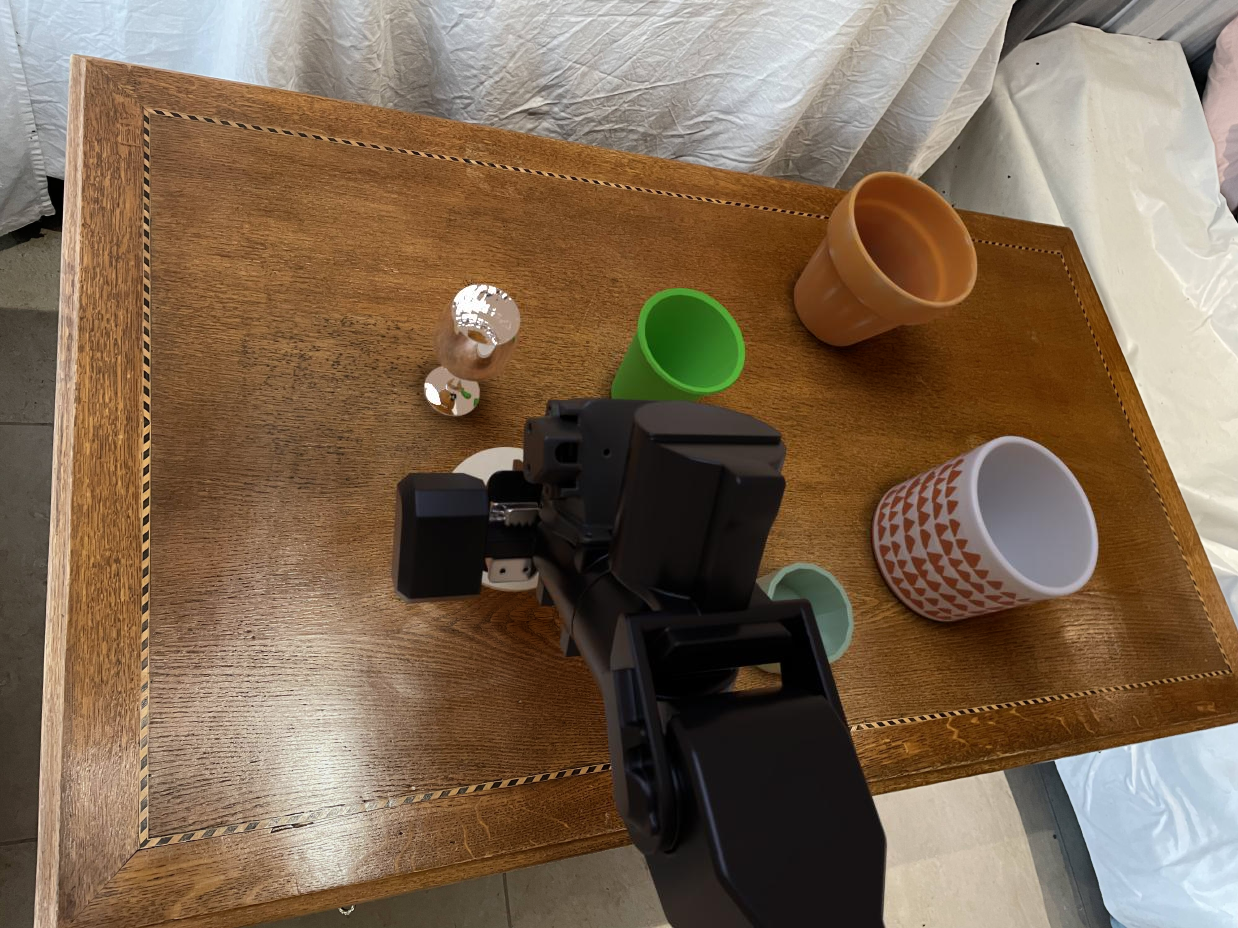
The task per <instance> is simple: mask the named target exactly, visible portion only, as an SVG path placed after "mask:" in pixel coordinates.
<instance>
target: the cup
mask: <svg viewBox="0 0 1238 928" xmlns="http://www.w3.org/2000/svg"><path fill="white" fill-rule="evenodd" d="M745 345H746V344H745V341H744V338H743V334H742V331H741V329H740V327H739V325H738V323H737V322H736V319H734V317H733V315H731V313H730V312H729V311H728V310H727V309H726V307H724V306H723V305H722V304H720V303H719V302H718V301H717V300H716V299H714V298H713V297H712V296H709V295H707V294H706V293H704V292H701V291H699V290H695V289H693V288H684V287H675V288H668V289H665V290H662V291H659V292H656V293H655V294H653V296H651V297H650V298H649V299H648V300H646V302H645V304H644V305H643V306H642V308H641V310H640V313H639V317H638V320H637V329H636V331H635V333H634V335H633V338H632V339H631V341H630V344H629V346H628V348H627V351H626V353H625V355H624V357H623V359H622V361H621V364H620V365H619V368H618V370H617V372H616V374H615V376H614V379H613V381H612V384H611V387H610V396H611V399H633V400H657V401H670V400H678V401H690V402H697V401H698V400H700V399H702V398H704V397H705V396H710V395H716V394H720V393H722V392H724V391H726V390H728V389H730V388H731V387H732V386H733V385H734V384H735V383H736V382H737V381H738V379H739V378H740V377H741V374H742V372H743V370H744V365H745V360H746V346H745Z"/></svg>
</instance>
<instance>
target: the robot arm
mask: <svg viewBox="0 0 1238 928" xmlns="http://www.w3.org/2000/svg"><path fill="white" fill-rule="evenodd" d="M782 438H783V434H782V432H780V431H779V430H777V429H776V428H775V427H773V426H771V425H770V424H768V423H766V422H765V421H763V420H760V419H758V418H756V417H754V416H751V415H749V414H747V413H743V412H740V411H739V410H738V411H737V410H735V409H731V408H727V407H723V406H719V405H716V404H710V403H704V402H697V401H694V402H690V401H678V400H670V401H657V400H633V399H612V398H605V397H604V398H602V397H571V398H569V399H552V398H551V399H550V398H549V399H548V400H547V402H546V405H545V413H544V414H543V416H540V417H538V416H535V417H534V416H528V418H527V419H526V420H525V422H524V426H523V446H522V449H523V462H522V461H521V460H520V459H514V460H513V465H512V470H500V471H497V472H495V473H493V474H492V475H491V476H490V478H489V479H488V481H487V484H486V485H485V483H484V481H483V480H482V479H480V478H477V477H474V476H471V475H468V474H466V473H452V472H409V473H408V474H406V475H405V476H404V477H403V478H402V479H401V480H400V481H398V482H397V483H396V493H395V494H396V496H395V509H394V524H393V539H392V540H393V541H392V554H391V566H390V567H391V569H390V576H391V581H392V585H393V586H392V587H393V590H394V593H395V594H396V595H397V597H399V598H400V600H402V601H403V602H404V603H405V604H406V605H414V604H427V603H429V604H431V603H443V602H444V603H445V602H459V601H474V600H476V599H477V598H479V596H480V595H481V592H482V586H483V585H482V577H483V571H484V572H487V573H488V575H487V576H488V580H489V582H491V583H507V582H524V581H529V580H531V579H532V578H534V577H535V576H536V574H537V573H539V576H538V583H537V588H536V589H535V597H536V599H537V601H538V603H539V605H540V607H553V606H555V608H556V610H557V612H558V613H559V616H560V618H561V619H562V621H563V622H562V627H561V633H560V638H559V647H560V649H561V651H562V653H563V655H564V657H565V659H567V658H577V657H581V658H582V660H583V662H584V664H585V666H586V668H587V670H588V672H589V674H590V676H591V677H592V680H593V681H594V683H595V685H596V687H597V689H598V691H599V693H600V695H601V697H602V699H603V707H604V715H605V724H606V733H607V742H608V743H607V745H608V752H609V760H610V762H609V763H610V770H611V779H612V780H611V781H612V788H613V789H612V790H613V798H614V803H615V807H616V810H617V813H618V815H619V818H621V819H622V820H623V822H624V825H625V829H626V831H627V835H628V836H629V838H630V840H631V842H632V843H633V845H634V847H635V848H636V849H637V850H638V851H639V852H640V853H641V854H642V855H643V856H644V859H645V862H646V865H647V868H648V871H649V874H650V877H651V879H652V882H653V885H654V888H655V891H656V894H657V896H658V900H659V902H660V905H661V908H662V911H663V915H664V917H665V918H666V921H667V923H668V924H669V926H670V927H671V928H887V927H886V924H885V920H884V913H885V895H886V894H885V893H886V875H887V874H886V873H887V858H888V857H887V855H888V840H887V835H886V832H885V828H884V826H883V823H882V820H881V818H880V814H879V812H878V808H877V805H876V803H875V800H874V798H873V795H872V791H871V789H870V786H869V784H868V780H867V777H866V775H865V772H864V769H863V766H862V764H861V763H862V762H861V760H860V757H859V754H858V752H857V749H856V746H855V742H854V739H853V735H852V733H851V730H850V726H849V723H848V720H847V716H846V714H845V710H844V706H843V703H842V700H841V697H840V694H839V690H838V687H837V684H836V681H835V677H834V674H833V670H832V667H831V665H830V664H831V663H830V664H829V661H828V657H827V654H826V651H825V648H824V644H823V641H822V638H821V635H820V631H819V628H818V625H817V621H816V618H815V615H814V612H813V608H812V605H811V603H810V601H809V600H807V599H806V598H803V599H790V600H778V601H772V600H771V599H770V598H769V596H768V595H767V594H766V593H765V592H764V591H763V590H762V589H761V588H760V587H759V585H758V584H757V582H756V579H758V576H759V575H758V574H759V571H760V567H761V563H762V559H763V556H764V554H765V553H764V552H765V549H766V546H767V542H768V537H769V534H770V532H771V529H772V527H773V525H774V523H775V521H776V519H777V517H778V514H779V512H780V508H781V505H782V501H783V498H784V494H785V490H786V487H787V482H786V477H785V476H784V475H783V474H782V471H783V468H784V464H785V460H786V456H787V446H786V445H785V442H784V441H783V440H782ZM543 486H544V491H543ZM774 663H780V670H781V673H780V680H781V684H777V685H770V686H762V687H755V688H748V689H739V690H735V688H736V683H737V680H738V676H739V673H740V669H741V668H748V667H757V665H766V664H774Z"/></svg>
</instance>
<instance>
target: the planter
mask: <svg viewBox="0 0 1238 928" xmlns="http://www.w3.org/2000/svg"><path fill="white" fill-rule="evenodd" d="M871 544H872V551H873V555H874V558H875V561H876V564H877V567H878V569H879V572H880V574H881V575H882V578H883V579H884V581H885V583H886V584H887V586H888V587H889V589H890V590H891V591H892V593H893V594H894V595H895V596H896V598H898V600H899V601H900V602H902V603H903V605H905V606H906V607H908V608H909V609H910V610H911V611H913V612H915V613H916V614H918V615H920V616H922V617H924V618H927V619H929V620H932V621H936V622H937V621H938V622H955V621H960V620H964V619H968V618H973V617H978V616H982V615H987V614H990V613H995V612H999V611H1004V610H1009V609H1012V608H1017V607H1021V606H1026V605H1030V604H1033V603H1038V602H1043V601H1047V600H1052V599H1057V598H1060V597H1065V596H1068V595H1071V594H1074V593H1076V592H1078V591H1080V589H1083V587H1085V585H1086V584H1088V582H1089V581H1090V579H1091V578H1092V576H1093V574H1094V572H1095V568H1096V566H1097V563H1098V562H1097V561H1098V557H1099V533H1098V528H1097V522H1096V518H1095V515H1094V512H1093V509H1092V506H1091V504H1090V502H1089V498H1088V496H1087V494H1086V493H1085V491H1084V489H1083V487H1082V485H1081V483H1080V482H1079V481H1078V480H1077V478H1076V476H1075V475H1074V474H1073V472H1072V471H1071V470H1070V468H1068V466H1067V465H1066V464H1065V462H1063V461H1062V459H1060V458H1059V457H1058V456H1056V455H1055V454H1054V453H1053V452H1052V451H1051V450H1049V449H1048V448H1046V447H1044V446H1043V445H1042V444H1040V443H1038V442H1036V441H1034V440H1031V439H1028V438H1025V437H1022V436H1016V435H1005V436H1000V437H997V438H994V439H992V440H990V441H988V442H985V443H984V444H981V445H979V446H977V447H975V448H973V449H971V450H968V451H967V452H964V453H962V454H959V455H957V456H956V457H953V458H951V459H950V460H947V461H944V462H943V463H941V464H939V465H937V466H935V467H932V468H930V469H928V470H926V471H923V472H921V473H919V474H918V475H915V476H913V477H911V478H909V479H907V480H905V481H902V482H901V483H898V484H897V485H895V486H893V487H891V488H890V489H889V490H888V491H886V493H884V494H883V496H882V497H881V499H879V502H878V503H877V505H876V508H875V510H874V513H873V516H872V522H871Z"/></svg>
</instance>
